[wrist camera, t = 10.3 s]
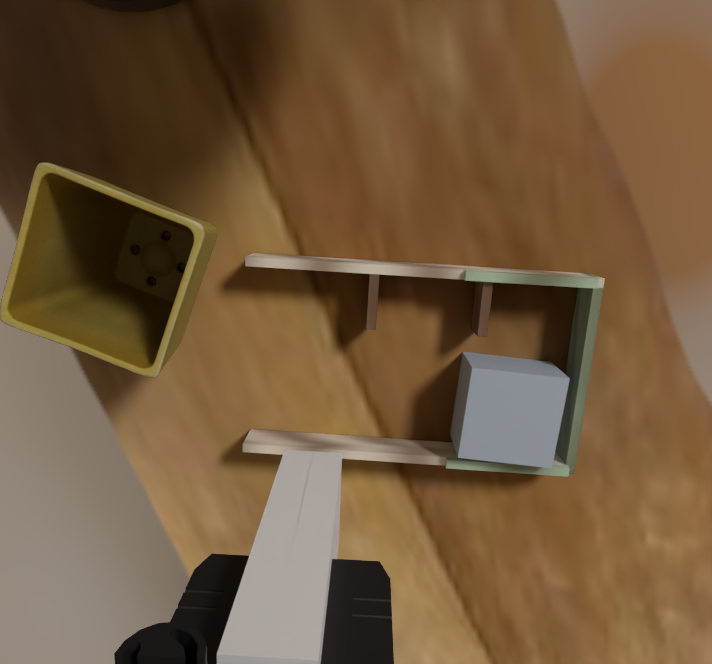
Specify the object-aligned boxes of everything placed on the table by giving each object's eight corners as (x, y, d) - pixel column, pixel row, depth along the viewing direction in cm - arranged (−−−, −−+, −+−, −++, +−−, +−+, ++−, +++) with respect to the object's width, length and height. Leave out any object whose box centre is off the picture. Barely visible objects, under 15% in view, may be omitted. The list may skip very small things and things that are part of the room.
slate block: (449, 432, 40) (457, 457, 36) (462, 351, 38) (472, 367, 34) (534, 442, 40) (551, 468, 36) (549, 361, 38) (569, 378, 34)
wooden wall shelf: (250, 436, 40) (241, 454, 37) (253, 253, 37) (243, 257, 34) (561, 457, 40) (575, 477, 37) (589, 273, 37) (607, 279, 34)
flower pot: (246, 221, 37) (206, 226, 28) (204, 341, 39) (154, 382, 30) (118, 169, 36) (36, 158, 27) (82, 294, 38) (-6, 321, 29)
